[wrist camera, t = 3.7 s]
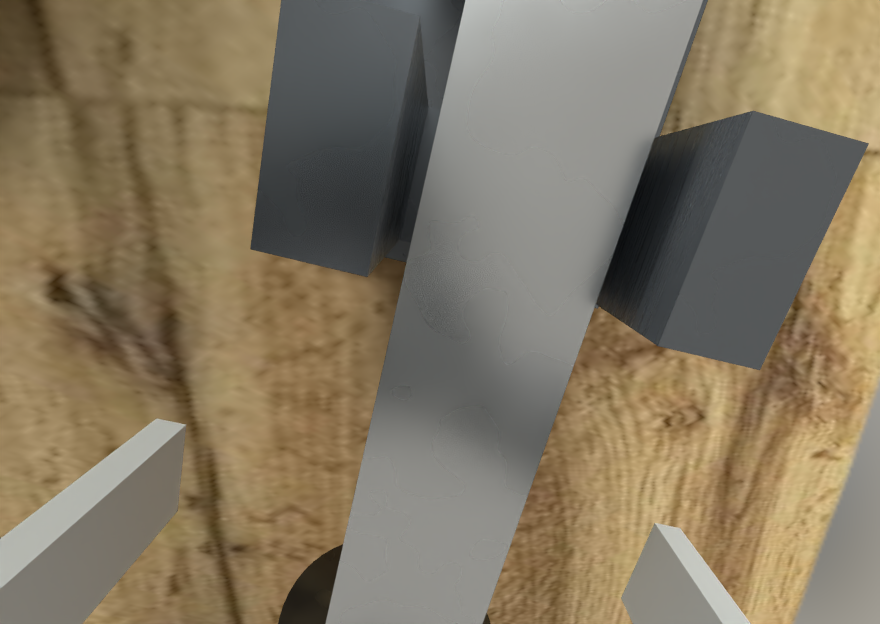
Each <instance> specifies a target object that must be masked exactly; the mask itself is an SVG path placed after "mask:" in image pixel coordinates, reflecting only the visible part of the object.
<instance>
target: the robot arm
mask: <svg viewBox="0 0 880 624" xmlns="http://www.w3.org/2000/svg"><path fill="white" fill-rule="evenodd" d="M185 432H186V425H185V424H180V423H175V422H171V421H166V420H161V419H155V420H154V421H153V422H151V423H150V424H149V425H148V426H146V427H145V428H144V429H142V430H141V431H140V432H138V433H137V434H136V435H135V436H133V437H132V438H131V439H129V440H128V441H127V442H125V443H124V444H123V445H122V446H120V447H119V448H118V449H116V450H115V451H114V452H112V453H111V454H110V455H109V456H107V457H106V458H105V459H103V460H102V461H101V462H99V463H98V464H97V465H95V466H94V467H93V468H92V469H90V470H89V471H88V472H86V473H85V474H84V475H82V476H81V477H80V478H79V479H77V480H76V481H75V482H73V483H72V484H71V485H69V486H68V487H67V488H66V489H64V490H63V491H62V492H60V493H59V494H58V495H56V496H55V497H54V498H53V499H51V500H50V501H49V502H47V503H46V504H45V505H43V506H42V507H41V508H40V509H38V510H37V511H36V512H34V513H33V514H32V515H30V516H29V517H28V518H26V519H25V520H24V521H23V522H21V523H20V524H19V525H17V526H16V527H15V528H13V529H12V530H11V531H10V532H8V533H7V534H6V535H4V536H3V537H2V538H0V624H82V623H83V622H84V621H85V620H86V619H87V618H88V616H89V615H90V614H91V613H92V612H93V610H94V609H95V608H96V607H97V606H98V604H99V603H100V602H101V601H102V600H103V599H104V597H105V596H106V595H107V594H108V593H109V591H110V590H111V589H112V588H113V587H114V586H115V584H116V583H117V582H118V581H119V580H120V578H121V577H122V576H123V575H124V574H125V573H126V571H127V570H128V569H129V568H130V567H131V565H132V564H133V563H134V562H135V561H136V560H137V558H138V557H139V556H140V555H141V554H142V552H143V551H144V550H145V549H146V548H147V546H148V545H149V544H150V543H151V542H152V541H153V539H154V538H155V537H156V536H157V535H158V533H159V532H160V531H161V530H162V529H163V528H164V526H165V525H166V524H167V523H168V522H169V520H170V519H171V518H172V517H173V516H174V515H175V513H176V512H177V511H178V501H179V491H180V481H181V472H182V462H183V452H184V442H185ZM621 599H622V601H623V603H624V605H625V607H626V610H627V612H628V614H629V616H630V618H631V620H632V623H633V624H751V623H750V622H749V621H748V619H747V618H746V617H745V615H744V614H743V613H742V611H741V610H740V609H739V607H738V606H737V605H736V603H735V602H734V600H733V599H732V598H731V596H730V595H729V594H728V592H727V591H726V590H725V588H724V587H723V586H722V584H721V583H720V582H719V580H718V579H717V577H716V576H715V575H714V573H713V572H712V571H711V569H710V568H709V567H708V565H707V564H706V563H705V561H704V560H703V559H702V557H701V556H700V555H699V553H698V552H697V550H696V549H695V548H694V546H693V545H692V544H691V542H690V541H689V540H688V538H687V537H686V536H685V534H684V533H683V532H682V530H681V529H680V528H676V527H672V526H667V525H662V524H657V523H655V524H654V526H653V528H652V530H651V533H650V535H649V537H648V539H647V541H646V544H645V546H644V548H643V550H642V553H641V555H640V557H639V559H638V562H637V564H636V566H635V568H634V571H633V573H632V575H631V577H630V579H629V582H628V584H627V586H626V588H625V591H624V593H623V595H622V597H621Z"/></svg>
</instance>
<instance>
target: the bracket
mask: <svg viewBox="0 0 880 624" xmlns="http://www.w3.org/2000/svg"><path fill="white" fill-rule="evenodd" d="M707 1H708V0H703V2H702V5H701V7H700V10H699V13H698V16H697V19H696V22H695V24H694V27H693V30H692V33H691V36H690V38H689V41H688V44H687V47H686V50H685V53H684V55H683V58H682V61H681V64H680V67H679V70H678V72H677V75H676V78H675V81H674V84H673V87H672V89H671V92H670V95H669V98H668V101H667V104H666V106H665V109H664V112H663V115H662V118H661V120H660V123H659V126H658V129H657V132H656V135H655V137H654V140H653V143H652V146H651V149H650V152H649V154H648V157H647V160H646V163H645V166H644V169H643V171H642V174H641V177H640V180H639V183H638V185H637V188H636V191H635V194H634V197H633V200H632V202H631V205H630V208H629V211H628V214H627V217H626V219H625V222H624V225H623V228H622V231H621V234H620V236H619V239H618V242H617V245H616V248H615V251H614V253H613V256H612V259H611V262H610V265H609V267H608V270H607V273H606V276H605V279H604V282H603V284H602V287H601V290H600V293H599V296H598V299H597V301H596V304H595V307H594V308H598V307H601V308H602V309H604V310H605V311H607V312H608V313H610V314H611V315H613V316H614V317H616V318H617V319H619V320H620V321H622V322H623V323H625V324H626V325H628V326H629V327H631V328H632V329H634V330H635V331H637V332H638V333H640V334H641V335H643V336H644V337H645V338H647V339H648V340H650V341H651V342H653V343H654V344H656V345H657V346H660V347H665V348H669V349H673V350H677V351H682V352H686V353H690V354H694V355H698V356H703V357H707V358H711V359H715V360H719V361H724V362H728V363H732V364H736V365H741V366H745V367H749V368H753V369H757V370H760V369H761V367H762V364H763V362H764V360H765V358H766V356H767V354H768V352H769V350H770V348H771V346H772V344H773V342H774V340H775V337H776V335H777V333H778V331H779V329H780V327H781V325H782V323H783V321H784V319H785V317H786V315H787V313H788V310H789V308H790V306H791V304H792V302H793V300H794V298H795V296H796V294H797V292H798V290H799V288H800V286H801V283H802V281H803V279H804V277H805V275H806V273H807V271H808V269H809V267H810V265H811V263H812V261H813V259H814V256H815V254H816V252H817V250H818V248H819V246H820V244H821V242H822V240H823V238H824V236H825V234H826V232H827V229H828V227H829V225H830V223H831V221H832V219H833V217H834V215H835V213H836V211H837V209H838V207H839V204H840V202H841V200H842V198H843V196H844V194H845V192H846V190H847V188H848V186H849V184H850V182H851V180H852V177H853V175H854V173H855V171H856V169H857V167H858V165H859V163H860V161H861V159H862V157H863V155H864V153H865V150H866V148H867V146H868V143H865V142H861V141H858V140H854V139H851V138H847V137H844V136H840V135H837V134H833V133H830V132H826V131H823V130H819V129H816V128H812V127H809V126H805V125H801V124H798V123H794V122H791V121H787V120H784V119H780V118H777V117H773V116H770V115H766V114H763V113H759V112H756V111H751V112H747V113H744V114H740V115H736V116H733V117H729V118H725V119H722V120H718V121H714V122H711V123H707V124H703V125H700V126H696V127H692V128H689V129H685V130H681V131H678V132H674V133H670V134H667V135H663V136H660V133H661V130H662V127H663V125H664V122H665V119H666V116H667V113H668V110H669V108H670V105H671V102H672V99H673V96H674V94H675V91H676V88H677V85H678V82H679V80H680V77H681V74H682V71H683V68H684V66H685V63H686V60H687V57H688V54H689V52H690V49H691V46H692V43H693V40H694V38H695V35H696V32H697V29H698V26H699V23H700V21H701V18H702V15H703V12H704V9H705V7H706V4H707ZM464 5H465V0H281V8H280V16H279V24H278V32H277V40H276V48H275V56H274V64H273V72H272V80H271V88H270V96H269V104H268V112H267V120H266V128H265V136H264V144H263V152H262V160H261V168H260V176H259V184H258V192H257V200H256V208H255V216H254V224H253V232H252V240H251V248H250V249H252V250H256V251H260V252H264V253H268V254H273V255H277V256H281V257H285V258H290V259H294V260H298V261H302V262H306V263H311V264H315V265H319V266H323V267H327V268H332V269H336V270H340V271H344V272H349V273H353V274H357V275H361V276H365V277H368V276H369V274H370V273H371V272H372V271H373V270H374V269H375V268H376V266H377V265H378V264H379V263H380V262H381V261H382V260H383V258H384V257H386V258H391V259H395V260H399V261H403V262H407V258H408V254H409V249H410V245H411V241H412V236H413V232H414V227H415V223H416V218H417V214H418V209H419V205H420V200H421V196H422V192H423V187H424V183H425V178H426V174H427V169H428V165H429V160H430V156H431V152H432V147H433V143H434V138H435V134H436V129H437V125H438V120H439V116H440V111H441V107H442V103H443V98H444V94H445V89H446V85H447V80H448V76H449V71H450V67H451V62H452V58H453V54H454V49H455V45H456V40H457V36H458V31H459V27H460V22H461V18H462V13H463V9H464ZM659 136H660V137H659Z"/></svg>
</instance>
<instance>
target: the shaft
mask: <svg viewBox="0 0 880 624" xmlns="http://www.w3.org/2000/svg"><path fill="white" fill-rule="evenodd" d="M702 2H703V0H465V5H464V9H463V13H462V18H461V22H460V27H459V31H458V36H457V40H456V45H455V49H454V54H453V58H452V62H451V67H450V71H449V76H448V80H447V85H446V89H445V94H444V98H443V103H442V107H441V111H440V116H439V120H438V125H437V129H436V134H435V138H434V143H433V147H432V152H431V156H430V160H429V165H428V169H427V174H426V178H425V183H424V187H423V192H422V196H421V200H420V205H419V209H418V214H417V218H416V223H415V227H414V232H413V236H412V241H411V245H410V249H409V254H408V258H407V263H406V267H405V272H404V276H403V281H402V285H401V290H400V294H399V298H398V303H397V307H396V312H395V316H394V321H393V325H392V330H391V334H390V339H389V343H388V347H387V352H386V356H385V361H384V365H383V370H382V374H381V379H380V383H379V387H378V392H377V396H376V401H375V405H374V410H373V414H372V419H371V423H370V428H369V432H368V436H367V441H366V445H365V450H364V454H363V459H362V463H361V468H360V472H359V477H358V481H357V485H356V490H355V494H354V499H353V503H352V508H351V512H350V517H349V521H348V526H347V530H346V534H345V539H344V543H343V544H342V545H340V546H338V547H336V548H333V549H332V550H330V551H328V552H327V553H325V554H323V555H322V556H321V557H319V558H318V559H317V560H315V561H314V562H313V563H312V564H311V565H310V566H309V567H308V568H307V569H306V570H305V571H304V572H303V573H302V574H301V576H300V577H299V578H298V579H297V581H296V582H295V584H294V585H293V587H292V589H291V590H290V592H289V594H288V596H287V598H286V601H285V603H284V605H283V608H282V612H281V615H280V618H279V623H278V624H490V620H489V617H488V615H487V610H488V607H489V604H490V601H491V598H492V595H493V593H494V590H495V587H496V584H497V581H498V578H499V576H500V573H501V570H502V567H503V564H504V562H505V559H506V556H507V553H508V550H509V547H510V545H511V542H512V539H513V536H514V533H515V530H516V528H517V525H518V522H519V519H520V516H521V513H522V511H523V508H524V505H525V502H526V499H527V497H528V494H529V491H530V488H531V485H532V482H533V480H534V477H535V474H536V471H537V468H538V465H539V463H540V460H541V457H542V454H543V451H544V448H545V446H546V443H547V440H548V437H549V434H550V431H551V429H552V426H553V423H554V420H555V417H556V415H557V412H558V409H559V406H560V403H561V400H562V398H563V395H564V392H565V389H566V386H567V383H568V381H569V378H570V375H571V372H572V369H573V366H574V364H575V361H576V358H577V355H578V352H579V349H580V347H581V344H582V341H583V338H584V335H585V333H586V330H587V327H588V324H589V321H590V318H591V316H592V313H593V310H594V307H595V304H596V301H597V299H598V296H599V293H600V290H601V287H602V284H603V282H604V279H605V276H606V273H607V270H608V267H609V265H610V262H611V259H612V256H613V253H614V251H615V248H616V245H617V242H618V239H619V236H620V234H621V231H622V228H623V225H624V222H625V219H626V217H627V214H628V211H629V208H630V205H631V202H632V200H633V197H634V194H635V191H636V188H637V185H638V183H639V180H640V177H641V174H642V171H643V169H644V166H645V163H646V160H647V157H648V154H649V152H650V149H651V146H652V143H653V140H654V137H655V135H656V132H657V129H658V126H659V123H660V120H661V118H662V115H663V112H664V109H665V106H666V104H667V101H668V98H669V95H670V92H671V89H672V87H673V84H674V81H675V78H676V75H677V72H678V70H679V67H680V64H681V61H682V58H683V55H684V53H685V50H686V47H687V44H688V41H689V38H690V36H691V33H692V30H693V27H694V24H695V22H696V19H697V16H698V13H699V10H700V7H701V5H702Z"/></svg>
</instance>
